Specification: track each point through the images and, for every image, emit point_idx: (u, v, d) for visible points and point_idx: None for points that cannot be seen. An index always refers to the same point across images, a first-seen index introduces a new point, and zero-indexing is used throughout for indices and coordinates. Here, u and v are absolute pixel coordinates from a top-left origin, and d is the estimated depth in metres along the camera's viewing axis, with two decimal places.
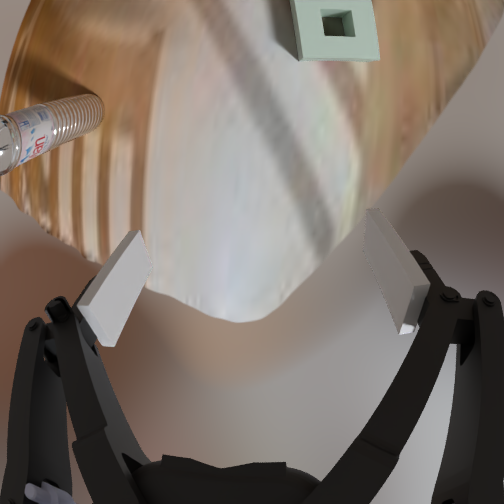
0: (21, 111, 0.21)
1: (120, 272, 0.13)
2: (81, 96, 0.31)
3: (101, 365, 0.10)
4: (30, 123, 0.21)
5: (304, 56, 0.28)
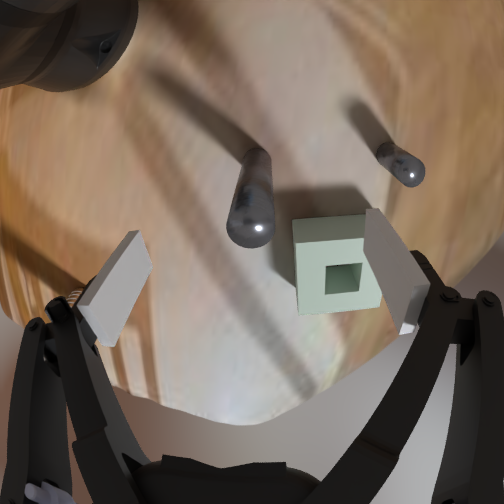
0: None
1: (120, 272, 0.13)
2: None
3: (101, 365, 0.10)
4: None
5: (300, 314, 0.33)
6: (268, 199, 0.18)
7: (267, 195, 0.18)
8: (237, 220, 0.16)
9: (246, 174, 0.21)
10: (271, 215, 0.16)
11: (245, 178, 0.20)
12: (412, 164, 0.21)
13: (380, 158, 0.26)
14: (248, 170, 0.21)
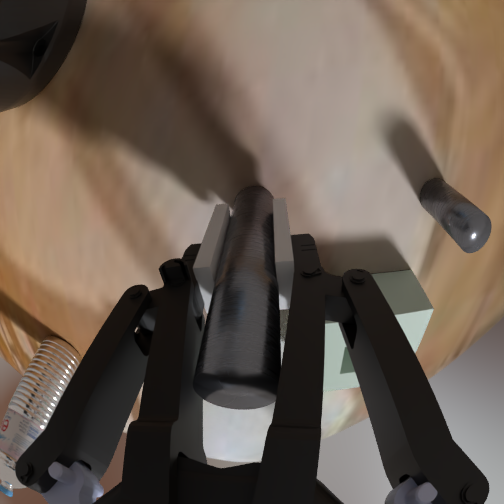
0: (13, 439, 0.17)
1: (222, 240, 0.15)
2: (51, 361, 0.28)
3: None
4: None
5: None
6: (270, 328, 0.09)
7: (269, 316, 0.10)
8: (210, 382, 0.08)
9: (233, 254, 0.12)
10: (275, 376, 0.08)
11: (231, 266, 0.12)
12: (478, 222, 0.13)
13: (427, 202, 0.18)
14: (237, 242, 0.13)
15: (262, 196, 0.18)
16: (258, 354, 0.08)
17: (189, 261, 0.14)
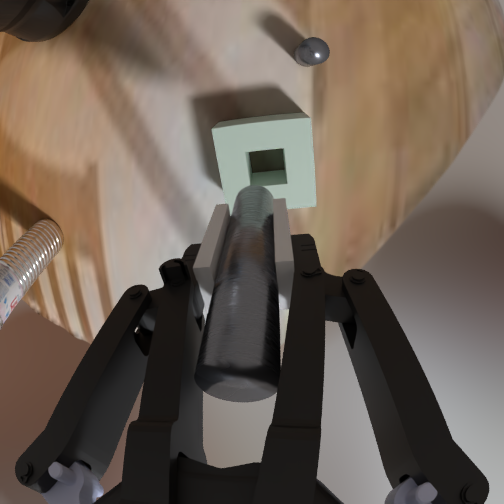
0: None
1: (222, 240, 0.15)
2: (38, 231, 0.36)
3: None
4: (1, 295, 0.26)
5: None
6: (270, 322, 0.10)
7: (268, 310, 0.10)
8: (211, 374, 0.08)
9: (234, 250, 0.13)
10: (275, 368, 0.08)
11: (231, 262, 0.12)
12: (313, 43, 0.21)
13: (295, 55, 0.25)
14: (238, 239, 0.14)
15: (262, 195, 0.18)
16: (258, 346, 0.08)
17: (189, 261, 0.14)
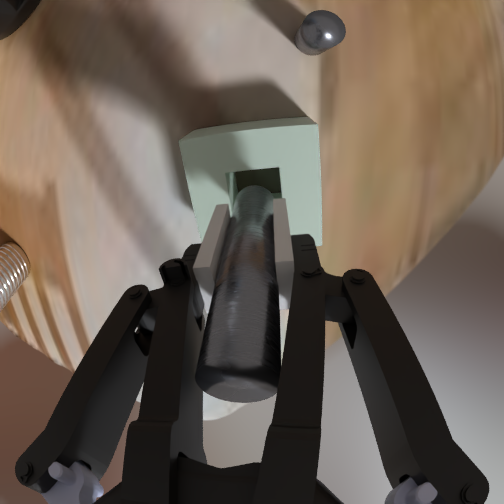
0: None
1: (222, 240, 0.15)
2: (0, 258, 0.28)
3: (201, 341, 0.11)
4: None
5: None
6: (270, 323, 0.10)
7: (269, 311, 0.10)
8: (212, 375, 0.08)
9: (234, 251, 0.13)
10: (275, 369, 0.08)
11: (232, 262, 0.12)
12: (321, 17, 0.13)
13: (296, 38, 0.18)
14: (238, 240, 0.14)
15: (262, 195, 0.18)
16: (259, 347, 0.08)
17: (189, 261, 0.14)
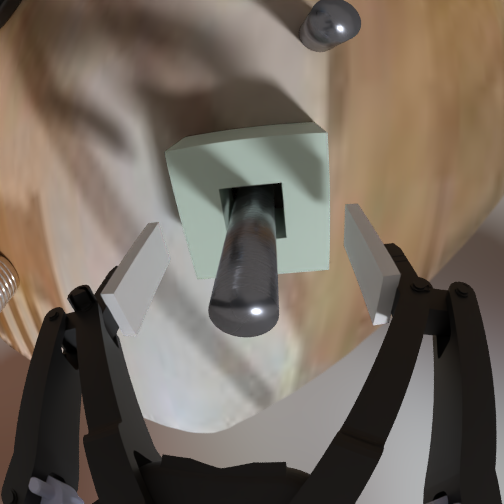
0: None
1: (141, 262, 0.14)
2: None
3: (121, 357, 0.11)
4: None
5: (199, 277, 0.22)
6: (270, 267, 0.12)
7: (268, 259, 0.13)
8: (223, 305, 0.11)
9: (240, 218, 0.15)
10: (274, 299, 0.11)
11: (238, 226, 0.15)
12: (333, 6, 0.10)
13: (301, 32, 0.15)
14: (243, 210, 0.16)
15: None
16: (260, 280, 0.11)
17: None
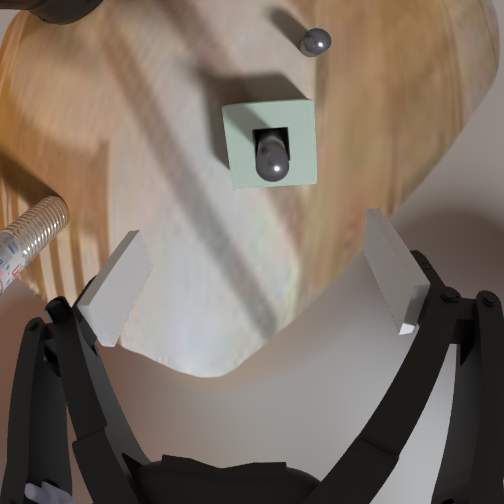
0: None
1: (120, 272, 0.13)
2: (45, 205, 0.37)
3: (101, 365, 0.10)
4: (4, 261, 0.27)
5: (234, 187, 0.34)
6: (284, 150, 0.24)
7: (283, 149, 0.24)
8: (263, 160, 0.23)
9: (266, 139, 0.27)
10: (286, 158, 0.23)
11: (266, 140, 0.27)
12: (316, 33, 0.22)
13: (300, 45, 0.27)
14: (267, 137, 0.28)
15: (275, 130, 0.33)
16: (280, 150, 0.23)
17: None
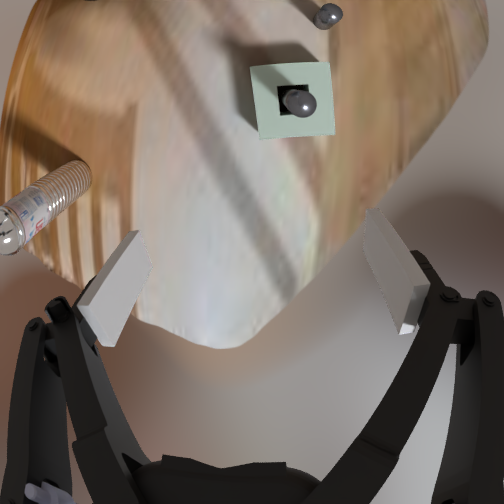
0: (19, 199, 0.28)
1: (120, 272, 0.13)
2: (69, 167, 0.38)
3: (101, 365, 0.10)
4: (29, 212, 0.29)
5: (260, 138, 0.35)
6: None
7: None
8: (294, 99, 0.24)
9: (291, 90, 0.29)
10: (314, 97, 0.24)
11: (292, 90, 0.28)
12: (330, 7, 0.24)
13: (314, 19, 0.28)
14: (291, 90, 0.30)
15: None
16: None
17: None
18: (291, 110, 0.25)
